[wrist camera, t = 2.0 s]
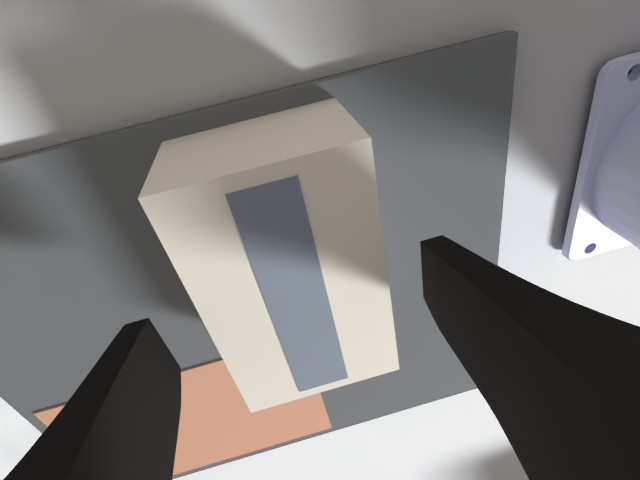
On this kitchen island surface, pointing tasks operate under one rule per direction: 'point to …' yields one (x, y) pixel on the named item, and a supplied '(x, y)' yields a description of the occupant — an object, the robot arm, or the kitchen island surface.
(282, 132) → the card deck
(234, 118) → the mat
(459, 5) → the kitchen island surface
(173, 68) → the kitchen island surface
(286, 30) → the kitchen island surface
